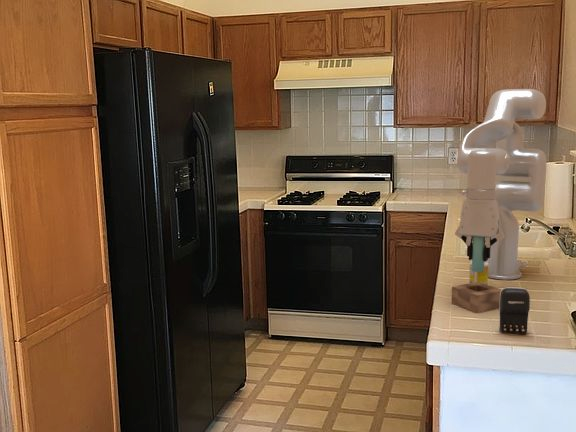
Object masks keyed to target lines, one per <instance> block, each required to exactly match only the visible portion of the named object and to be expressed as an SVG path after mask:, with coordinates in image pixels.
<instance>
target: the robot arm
mask: <svg viewBox="0 0 576 432" xmlns="http://www.w3.org/2000/svg"><path fill="white" fill-rule="evenodd" d="M546 108H547V100H546V97H545V94H544V93H543V92H541V91H539V90H537V89H533V88H512V89H511V88H509V89H507V88H506V89H501V90H497V91H495V92H494V93H493V94H492V95H491V97H490V99H489V102H488V106H487V110H486V112H485V113H486V114H485V117H484V120H483V122H481V123H480V124H479V125H477V126H475V127H474V128H473V129H471V130H470V131H469V132H467V134H465V135H464V137H463V138H462V140H461V144H460V146H459V150H458V153H457V157H456V158H457V159H456V165H457V169H458V171H460V172H461V173H463V174H466V175H467V180H466V181H467V182H466V183H467V184H466V188H465V189H462V190H461V195H463V196H465V199H463V201H462V206H461V211H460V220H459V226H458V227H457V229H455V232H454V235H455V236H456V237H458V238H460V239H461V240H462V241H463V243H464V244H465V245H466V256H467V257H468V260H469V261H472V245H473V236H478V237H485V247H484V253H483V261H484V262H488V279H494V280H502V281H503V280H505V281H506V280H518V279H520V278H522V276H523V274H522V272H521V270H520V269H521V268H527V266H528V263H527V261H524V260H523V261H518V255H519V254H518V253H519V230H520V224H519V221H518V219H517V217H516V215H514V213H513V212H515V211H517V212H539V211H540V210H541V209H542V207H543V206H544V205H543V204H544V200H545V190H546V178H547V156H546V153H545V152H544V151H543V150H541V149H538V148H524V142H525V134H524V131H523V129H522V128H521V126H520V125H519V124H518V123H517V122H516V121H515V120H540V119H542V118H543V116H544V115H545V112H546V110H547V109H546ZM493 143H496V144H495V148H494V147H493V148H492V147H491V148H490V147H489V148H488V147H483V146H486V145H490V144H493ZM497 176H499V177H502V178H513V179H516V178H520V179H528V180H529V181H517V180H497ZM496 180H497V181H496Z"/></svg>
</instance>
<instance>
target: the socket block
mask: <svg viewBox="0 0 576 432" xmlns="http://www.w3.org/2000/svg"><path fill="white" fill-rule="evenodd" d="M502 289H503V288H498V287H495V286H492V285H489V284H488V285H486V284H483V283H480V282H475V283H465V284H460V285H453V286H451V304H452V305H454V306H458V307H459V308H462V309H465V310H467V311H469V312H473V313H475V314H479V313H483V312H488V311H492V310H497V309H498V310H499V302H500V292H501V290H502Z"/></svg>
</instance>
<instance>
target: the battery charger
mask: <svg viewBox="0 0 576 432" xmlns="http://www.w3.org/2000/svg"><path fill="white" fill-rule="evenodd" d="M501 289H502V290H501V292H500V302H499V308H498V310H499V311H498V312H499V314H498V315H499V320H498V322H499V324H498V330H499V332H501V333H502V334H507V335H526V334H527V333H528V320H529V313H530V308H531V307H530V306H531V296H530V292H529V291H528V289H526V288H525V287H510V286H509V287H508V286H507V287H504V288H501Z"/></svg>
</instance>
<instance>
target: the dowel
mask: <svg viewBox="0 0 576 432" xmlns="http://www.w3.org/2000/svg"><path fill="white" fill-rule="evenodd" d="M472 243H473V245H472V260H471V261H472V271H474V272H484V261H483V253H484V247H485V245H486V243H485V237H478V236H473V242H472Z"/></svg>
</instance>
